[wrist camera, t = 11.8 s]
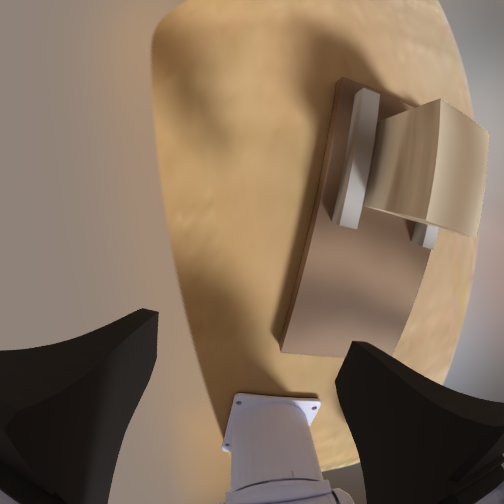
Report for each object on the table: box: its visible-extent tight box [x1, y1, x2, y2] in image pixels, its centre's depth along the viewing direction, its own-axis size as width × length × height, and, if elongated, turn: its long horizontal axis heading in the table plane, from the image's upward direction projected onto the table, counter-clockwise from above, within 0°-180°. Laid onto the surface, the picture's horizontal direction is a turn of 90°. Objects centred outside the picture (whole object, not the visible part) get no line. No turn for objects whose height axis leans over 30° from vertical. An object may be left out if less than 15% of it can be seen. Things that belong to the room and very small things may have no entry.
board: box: [279, 77, 439, 358], centre depth 17 cm, size 20×10×3 cm, turn 169°
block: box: [363, 99, 489, 239], centre depth 13 cm, size 4×6×7 cm, turn 169°
